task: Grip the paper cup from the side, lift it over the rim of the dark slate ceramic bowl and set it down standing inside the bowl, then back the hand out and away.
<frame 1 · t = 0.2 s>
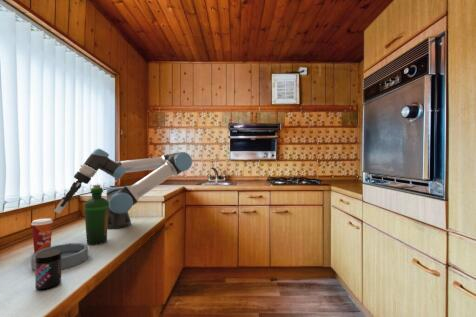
hand: (57, 210, 126), 15 cm above the countertop, tool tilted 35°, fingers open, 13 cm apart
supplement container: (48, 286, 80), on the countertop
bottle: (97, 242, 122), on the countertop
paper cup: (42, 252, 110), on the countertop
bowl: (61, 261, 99), on the countertop
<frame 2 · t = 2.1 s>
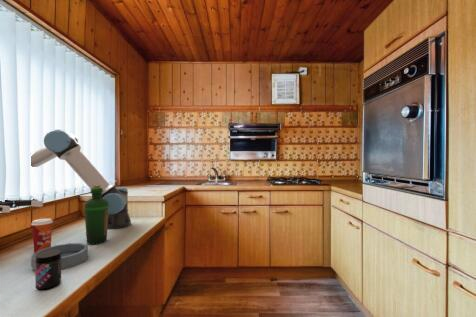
hand: (26, 206, 113), 19 cm above the countertop, tool horizontal, fingers open, 13 cm apart
nothing on the countertop moved.
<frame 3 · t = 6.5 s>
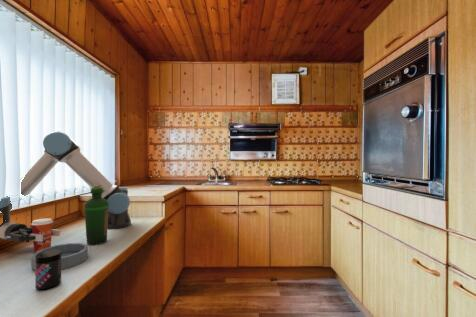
hand: (50, 235, 109), 8 cm above the countertop, tool horizontal, fingers closed on paper cup, 7 cm apart
paper cup: (42, 252, 110), on the countertop, touching gripper
everything else where it was.
when the fingers open (10 cm above the countertop, at t = 11.6 s): paper cup moves 4 cm, resting on bowl.
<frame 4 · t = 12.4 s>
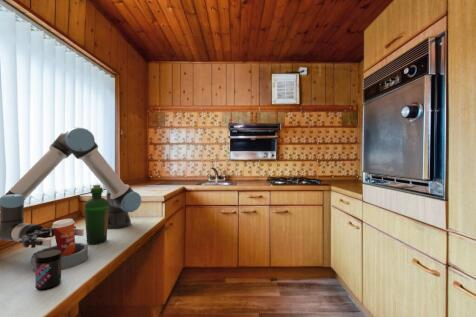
hand: (67, 237, 98), 10 cm above the countertop, tool horizontal, fingers open, 13 cm apart
paper cup: (67, 254, 103), point 1 cm above the countertop, touching bowl, gripper
everything else where it was.
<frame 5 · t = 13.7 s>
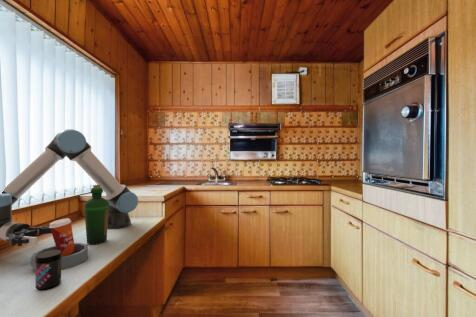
hand: (54, 235, 100), 10 cm above the countertop, tool horizontal, fingers open, 13 cm apart
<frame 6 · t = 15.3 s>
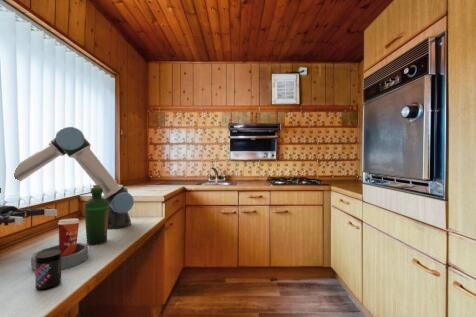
hand: (40, 216, 103), 17 cm above the countertop, tool horizontal, fingers open, 13 cm apart
paper cup: (67, 254, 103), point 1 cm above the countertop, touching bowl
everything else where it was.
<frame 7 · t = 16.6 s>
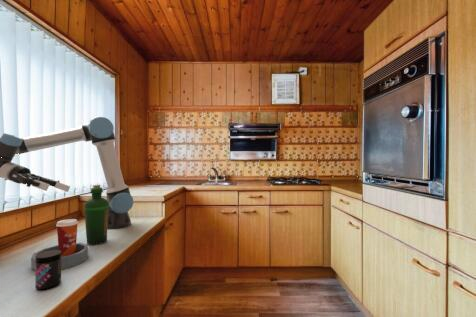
hand: (58, 188, 112), 28 cm above the countertop, tool tilted 70°, fingers open, 13 cm apart
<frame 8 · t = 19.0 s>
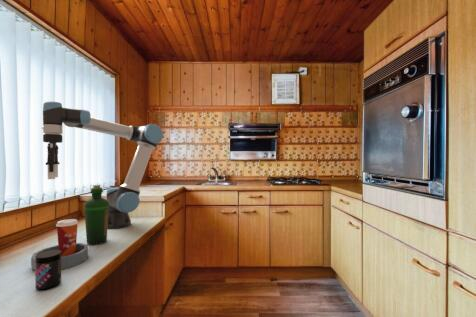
hand: (53, 178, 120), 32 cm above the countertop, tool pointing down, fingers open, 13 cm apart
nothing on the countertop moved.
at the end: paper cup inside the target area on the bowl (4.4 cm from its centre), point 1.0 cm above the bowl's base; paper cup tilted 0°; the gripper is holding nothing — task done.
